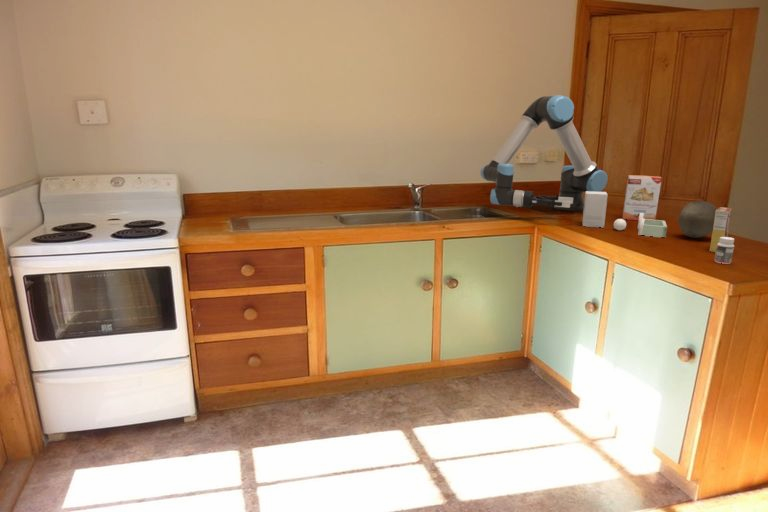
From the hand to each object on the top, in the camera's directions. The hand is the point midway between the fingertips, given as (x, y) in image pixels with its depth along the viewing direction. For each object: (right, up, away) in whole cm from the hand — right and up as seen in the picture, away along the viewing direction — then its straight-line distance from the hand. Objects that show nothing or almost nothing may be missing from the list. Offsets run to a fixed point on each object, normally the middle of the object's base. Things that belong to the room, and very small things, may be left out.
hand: (571, 202), depth 229 cm
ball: (+16, -11, -12) cm, 23 cm away
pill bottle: (+28, -26, -60) cm, 71 cm away
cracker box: (+37, -7, +13) cm, 40 cm away
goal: (+27, -14, -16) cm, 35 cm away
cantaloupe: (+41, -17, -25) cm, 51 cm away
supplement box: (+9, -11, -1) cm, 14 cm away
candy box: (+37, -22, -44) cm, 61 cm away
